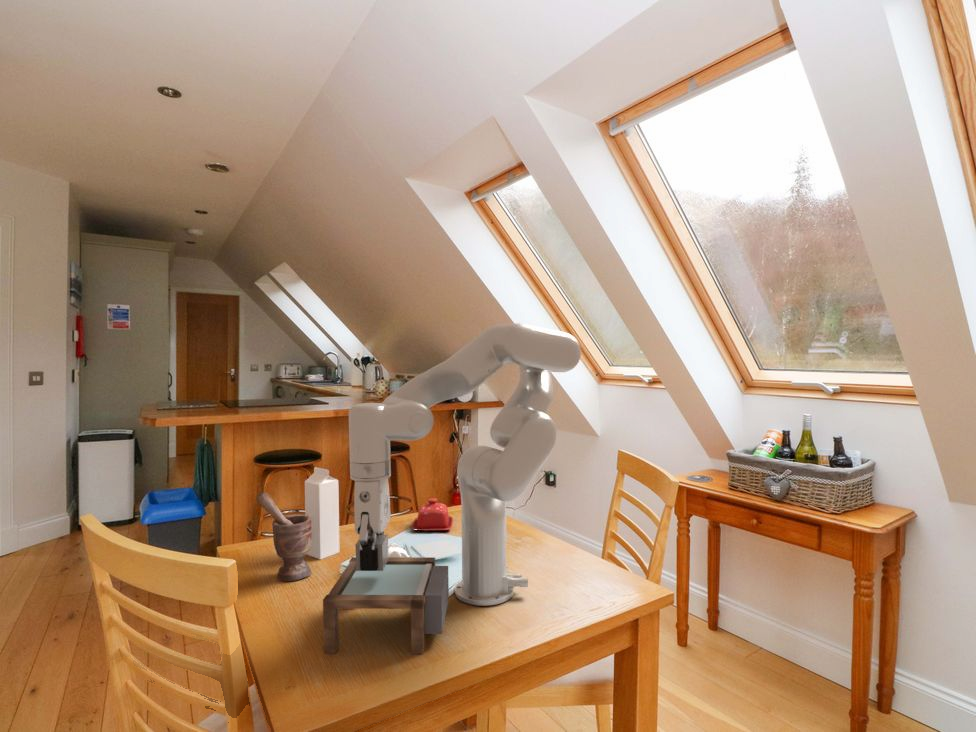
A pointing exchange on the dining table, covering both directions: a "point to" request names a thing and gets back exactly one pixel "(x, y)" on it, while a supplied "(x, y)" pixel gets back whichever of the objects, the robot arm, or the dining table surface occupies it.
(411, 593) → the trapdoor
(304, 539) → the mortar and pestle
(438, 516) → the butter dish
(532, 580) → the dining table surface
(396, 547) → the elephant figurine
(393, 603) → the frame
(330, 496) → the milk
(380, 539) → the gray cube
